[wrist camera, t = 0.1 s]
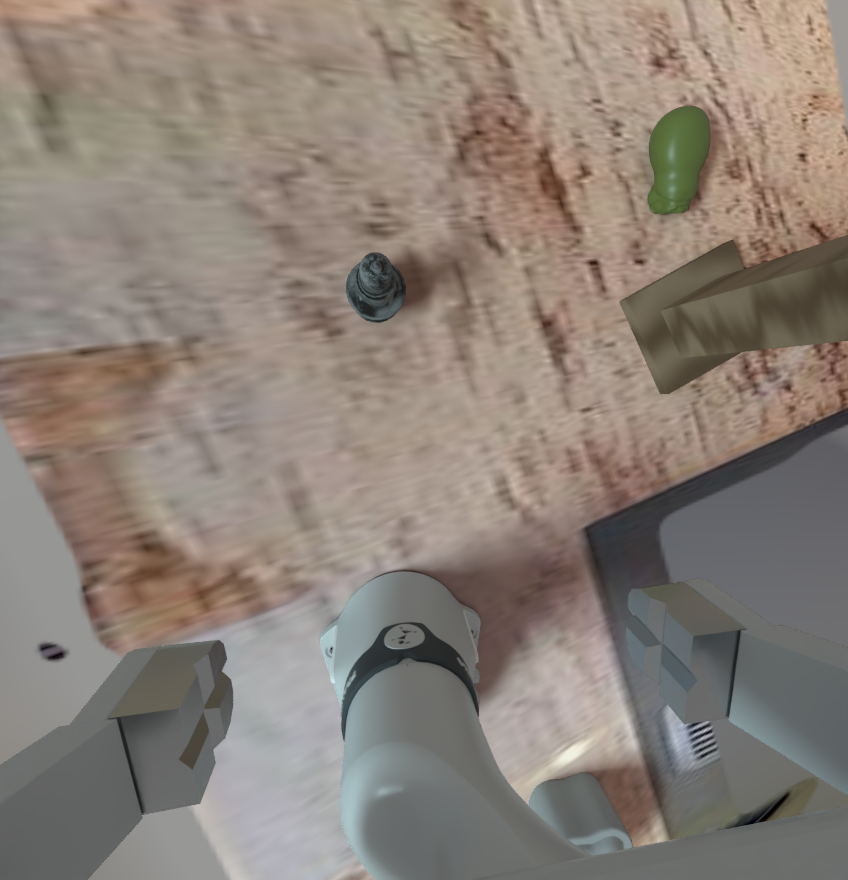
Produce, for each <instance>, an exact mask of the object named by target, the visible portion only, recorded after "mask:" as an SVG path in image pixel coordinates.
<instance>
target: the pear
mask: <svg viewBox="0 0 848 880" xmlns="http://www.w3.org/2000/svg"><path fill="white" fill-rule="evenodd" d="M709 146H710V123H709V119H708V117H707V115H706V113H705V112H704V111H703V110H702V109H700V108H698V107H695V106H683V107H679V108H676V109H674V110H672V111H670V112H669V113H667V114H666V115H665V116H663V117H662V118H661V119H660V121H659V122H658V123H657V125H656V126H655V128H654V130H653V132H652V134H651V138H650V142H649V156H650V162H651V165H652V168H653V170H654V175H655V179H654V186H653V187H652V189H651V191H650V193H649V195H648V203H649V205H650V211H652V212H653V213H655V214H656V213H659V214H665V213H677V212H678V213H684V212H686V211H687V210H688V209H689V204H690V201H691V199H693V198H694V197H695V195H696V192H697V189H698V182H699V174H700V171H701V169H702V166H703V165H704V163H705V160H706V158H707V155H708V151H709Z"/></svg>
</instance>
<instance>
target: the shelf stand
mask: <svg viewBox="0 0 848 880" xmlns="http://www.w3.org/2000/svg"><path fill="white" fill-rule="evenodd" d="M620 304H621V306H622V308H623V311H624V313H625V315H626V317H627V320H628V322H629V324H630V327H631V329H632V331H633V333H634V336H635V338H636V340H637V342H638V345H639V347H640V349H641V351H642V354H643V356H644V358H645V361H646V363H647V365H648V367H649V370H650V372H651V374H652V376H653V379H654V381H655V383H656V386H657V388H658V390H659V392H660V394H670V393H671V392H673V391H675V390H677V389H678V388H680V387H682V386H683V385H685V384H687V383H689V382H690V381H692V380H694V379H696V378H697V377H699V376H701V375H703V374H704V373H706V372H708V371H710V370H711V369H713V368H715V367H717V366H718V365H720V364H722V363H724V362H725V361H727V360H729V359H731V358H732V357H734V356H736V355H738V354H739V353H741V352H745V351H754V350H764V349H773V348H783V347H793V346H802V345H812V344H821V343H831V342H840V341H848V235H846V236H843V237H840V238H837V239H834V240H831V241H828V242H825V243H822V244H819V245H816V246H813V247H810V248H807V249H804V250H801V251H798V252H795V253H792V254H788V255H785V256H782V257H779V258H776V259H773V260H770V261H767V262H764V263H761V264H758V265H755V266H752V267H749V268H746V269H744V267H743V264H742V262H741V259H740V256H739V254H738V251H737V249H736V246H735V243H734V241H733V240H731V241H729V242H726V243H724V244H722V245H720V246H718V247H716V248H714V249H713V250H711V251H709V252H707V253H705V254H704V255H702V256H700V257H698V258H697V259H695V260H693V261H691V262H689V263H688V264H686V265H684V266H682V267H680V268H679V269H677V270H675V271H673V272H671V273H670V274H668V275H666V276H664V277H663V278H661V279H659V280H657V281H655V282H654V283H652V284H650V285H648V286H646V287H645V288H643V289H641V290H639V291H637V292H636V293H634V294H632V295H630V296H629V297H627V298H625V299H623V300H621V301H620Z"/></svg>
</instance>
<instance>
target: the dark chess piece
mask: <svg viewBox="0 0 848 880" xmlns="http://www.w3.org/2000/svg"><path fill="white" fill-rule="evenodd" d="M346 294H347V297H348V301H349V302H350V304H351V306H352V308H353V309H354V310H355V311H356V312H357V313H358V314H359V315H360V316H361V317H362V318H363V319H365V320H367V321H370V322H379V323H380V322H384V321H386V320H388V319H390V318H391V317H392V316H393V315H394V314H395V313H396V312H397V311H398V310H399V309H400V307H401V306H402V304H403V302H404V298H405V294H406V290H405V283H404V279H403V277H402V275H401V273H400V271H399V270H398V269H397V268H396V267H395V266H394V265H392V264H391V262H390V261H389V259H388V258H387V257H386V256H384V255H383V254H381V253H375V252H374V253H370V254H368V255H366V256H365V257H364V258H363V259H362V261H361V262H360V263H359V264H357V265H356V266H355V267H354V268H353V269H352V270H351V272H350V274H349V276H348V279H347V283H346Z"/></svg>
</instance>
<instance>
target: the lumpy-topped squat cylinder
mask: <svg viewBox="0 0 848 880" xmlns="http://www.w3.org/2000/svg"><path fill="white" fill-rule="evenodd" d="M529 807H530V808H531V809H532V810H533V811H535V812H536V813H537V814H538V815H539V816H540V817H541V818H542V819H543V820H544V821H545V822H547V823H548V824H549V825H550V826H551V827H553V828H554V829H555V830H556V831H557V832H559V833H560V834H561V835H562V836H564V837H565V838H566V839H568V840H569V841H571V842H572V843H573V844H575V845H576V846H577V847H579V848H580V849H582V850H584V851H585V852H587V853H588V854H590V855H592V856H594V855H599V854H604V853H609V852H614V851H619V850H624V849H629V848H633V844H632V840H631V838H630V836H629V834H628V832H627V831H626V829H625V827H624V825H623V823H622V822H621V820H620V818H619V816H618V815H617V813H616V811H615V809H614V808H613V806H612V804H611V802H610V801H609V799H608V797H607V795H606V794H605V792H604V790H603V788H602V786H601V785H600V783H599V781H598V780H597V779H596V777H594V776H593V775H592V774H589V773H585V772H583V773H578V774H575V775H572V776H570V777H567V778H564V779H559V780H550V781H545V782H543V783H541V784H539V785H538V786H537V787H536V788H535V789H534V791H533V792H532V794H531V796H530V800H529Z"/></svg>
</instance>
